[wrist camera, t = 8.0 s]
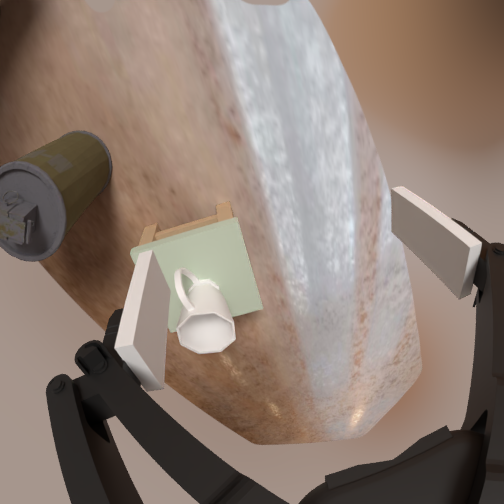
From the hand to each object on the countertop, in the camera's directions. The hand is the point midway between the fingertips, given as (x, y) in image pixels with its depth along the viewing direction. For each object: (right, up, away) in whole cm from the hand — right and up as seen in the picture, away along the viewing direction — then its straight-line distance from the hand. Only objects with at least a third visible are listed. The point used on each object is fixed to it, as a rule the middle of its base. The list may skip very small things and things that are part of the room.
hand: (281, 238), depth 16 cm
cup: (-8, -5, +25) cm, 27 cm away
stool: (-10, -1, +32) cm, 33 cm away
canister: (-26, +12, +22) cm, 36 cm away
